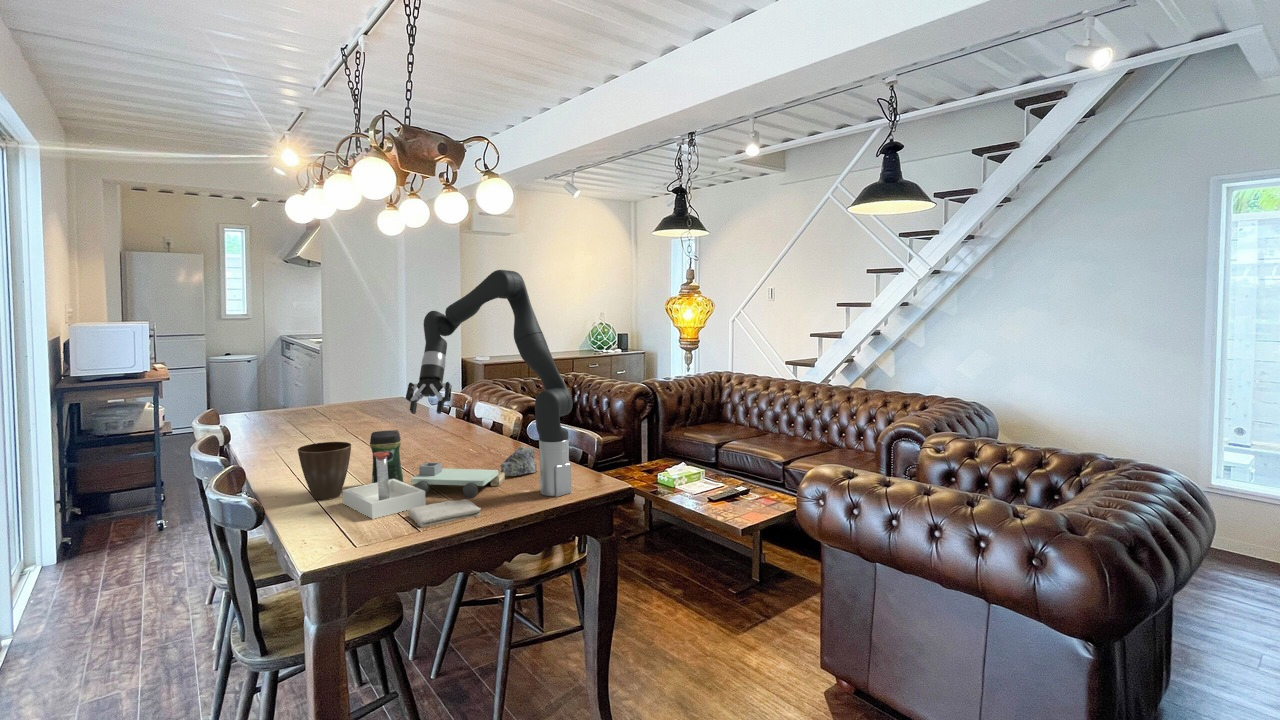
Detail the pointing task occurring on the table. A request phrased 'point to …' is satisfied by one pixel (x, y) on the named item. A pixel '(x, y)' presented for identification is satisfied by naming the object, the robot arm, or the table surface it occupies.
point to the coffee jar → (392, 444)
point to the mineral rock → (519, 462)
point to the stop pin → (382, 474)
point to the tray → (398, 501)
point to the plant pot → (325, 467)
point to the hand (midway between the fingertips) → (425, 413)
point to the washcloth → (443, 512)
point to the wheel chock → (498, 479)
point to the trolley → (452, 477)
